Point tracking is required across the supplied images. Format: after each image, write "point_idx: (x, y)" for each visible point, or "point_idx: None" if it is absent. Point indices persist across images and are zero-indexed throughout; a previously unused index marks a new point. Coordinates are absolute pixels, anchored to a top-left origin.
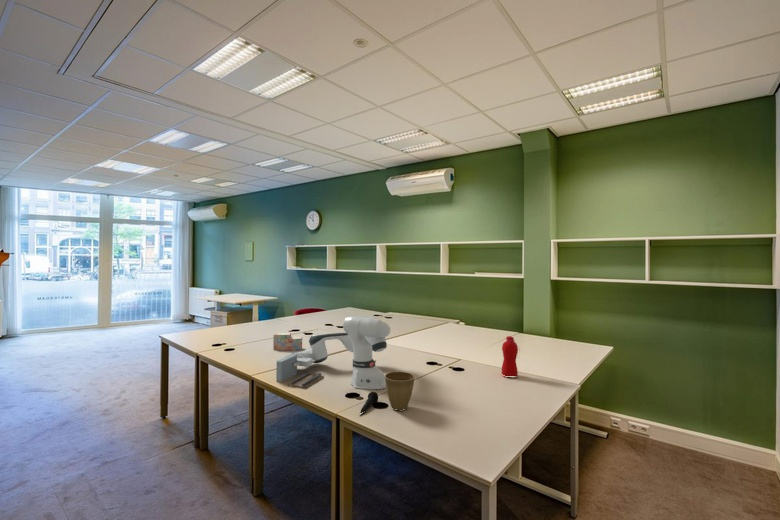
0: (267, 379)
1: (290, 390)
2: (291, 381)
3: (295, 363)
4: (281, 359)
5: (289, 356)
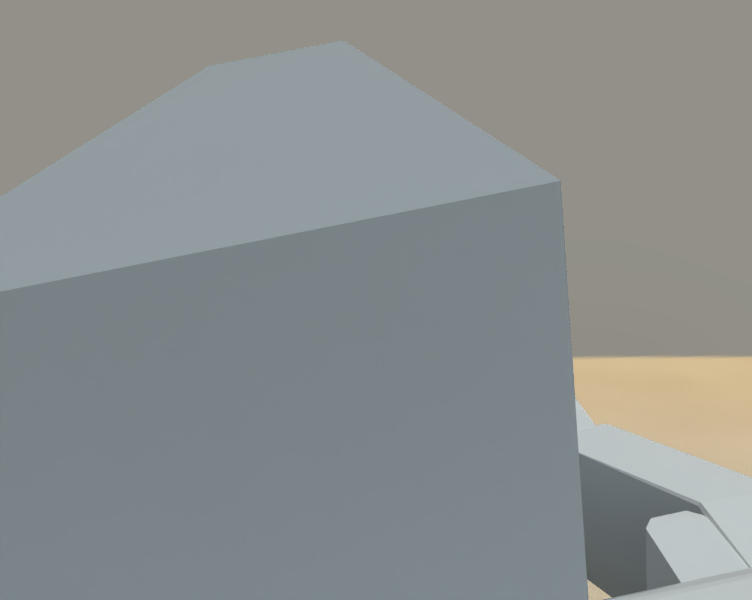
0: (627, 395)
1: None
2: None
3: None
4: (327, 53)
5: (293, 101)
